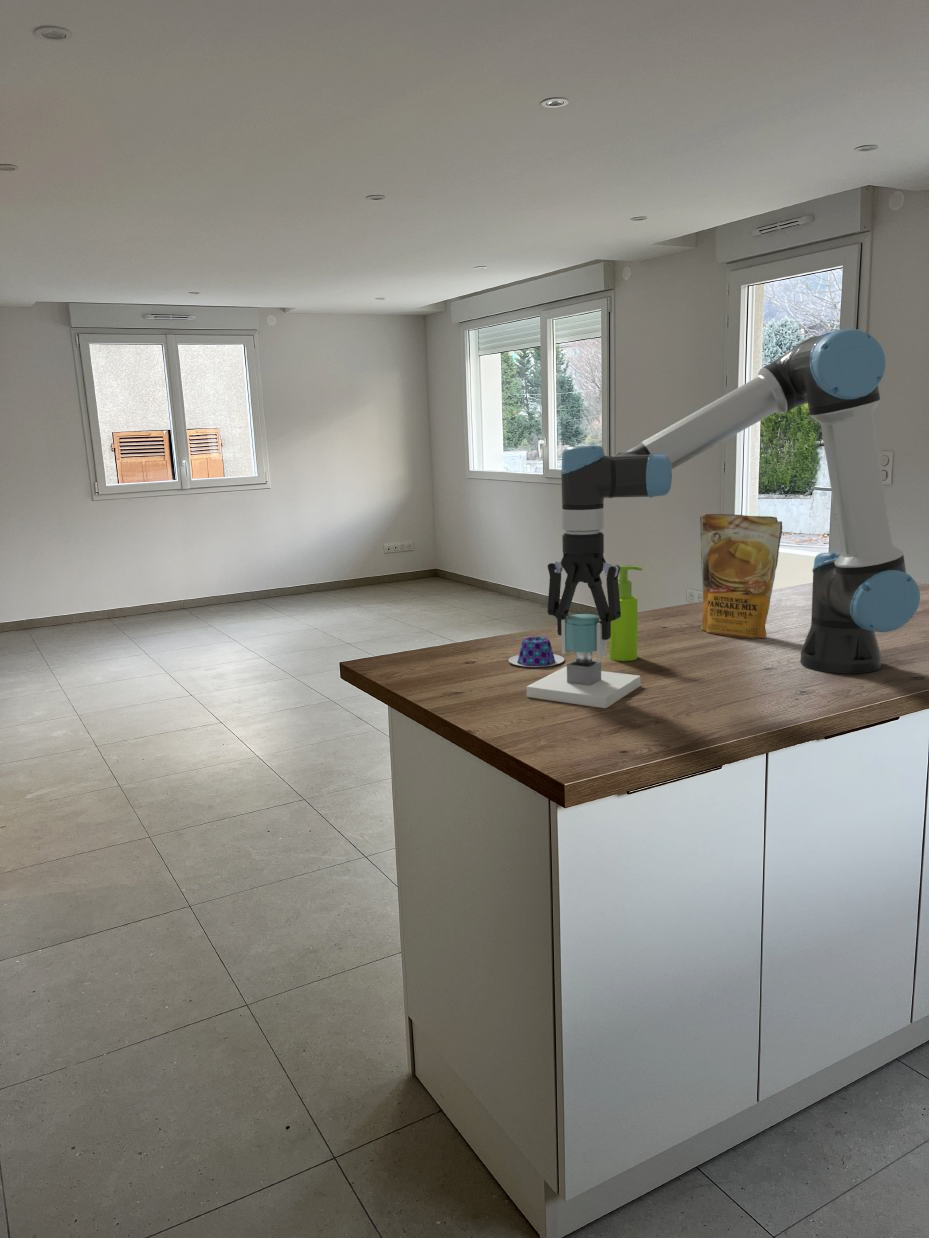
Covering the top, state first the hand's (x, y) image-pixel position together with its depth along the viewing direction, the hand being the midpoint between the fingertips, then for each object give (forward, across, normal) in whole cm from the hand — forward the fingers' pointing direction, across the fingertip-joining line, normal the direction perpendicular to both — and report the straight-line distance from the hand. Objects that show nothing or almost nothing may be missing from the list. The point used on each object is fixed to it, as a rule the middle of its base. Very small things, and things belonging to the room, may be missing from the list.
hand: (584, 654), depth 169 cm
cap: (-1, 0, 0) cm, 1 cm away
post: (+4, 0, 0) cm, 4 cm away
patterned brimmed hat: (+8, +19, -16) cm, 26 cm away
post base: (+7, 0, 0) cm, 7 cm away
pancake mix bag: (+7, -11, -59) cm, 60 cm away
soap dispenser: (+7, +3, -27) cm, 28 cm away
